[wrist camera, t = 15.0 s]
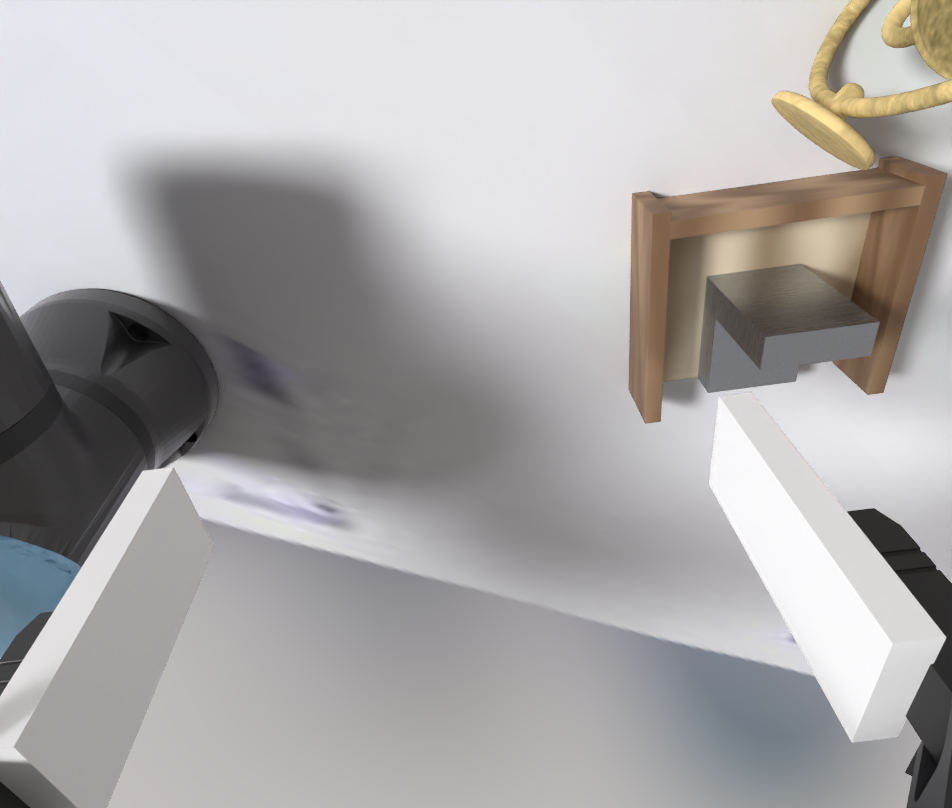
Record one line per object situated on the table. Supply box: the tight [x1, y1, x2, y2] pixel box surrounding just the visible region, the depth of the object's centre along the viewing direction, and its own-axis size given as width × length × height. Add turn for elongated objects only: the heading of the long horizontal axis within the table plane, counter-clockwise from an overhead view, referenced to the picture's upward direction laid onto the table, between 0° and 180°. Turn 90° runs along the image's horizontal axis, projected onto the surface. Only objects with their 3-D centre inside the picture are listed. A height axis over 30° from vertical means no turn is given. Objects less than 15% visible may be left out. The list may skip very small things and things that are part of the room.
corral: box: [629, 156, 947, 423], centre depth 45 cm, size 18×16×5 cm
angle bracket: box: [698, 264, 880, 393], centre depth 44 cm, size 9×7×10 cm
